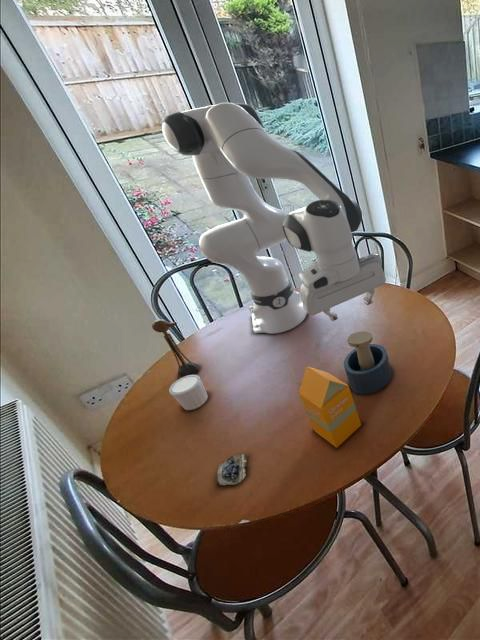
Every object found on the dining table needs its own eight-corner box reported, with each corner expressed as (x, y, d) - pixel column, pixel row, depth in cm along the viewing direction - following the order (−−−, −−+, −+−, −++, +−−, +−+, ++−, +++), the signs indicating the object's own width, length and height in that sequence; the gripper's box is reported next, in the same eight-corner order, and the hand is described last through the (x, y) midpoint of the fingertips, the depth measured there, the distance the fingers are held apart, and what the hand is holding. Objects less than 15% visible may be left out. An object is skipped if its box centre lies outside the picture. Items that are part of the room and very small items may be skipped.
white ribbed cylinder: (216, 395, 112) (206, 377, 108) (192, 415, 106) (180, 397, 103) (198, 388, 114) (188, 371, 110) (174, 408, 108) (162, 390, 105)
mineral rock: (243, 450, 97) (240, 445, 96) (257, 470, 93) (254, 465, 92) (212, 471, 93) (208, 466, 92) (224, 493, 88) (221, 488, 87)
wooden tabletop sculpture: (205, 364, 122) (175, 313, 112) (199, 375, 118) (168, 323, 108) (183, 368, 121) (151, 316, 110) (176, 379, 117) (142, 327, 106)
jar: (343, 377, 116) (336, 357, 112) (379, 357, 123) (375, 338, 119) (361, 401, 109) (354, 381, 105) (398, 378, 116) (394, 358, 112)
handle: (379, 382, 114) (369, 343, 106) (357, 383, 114) (345, 344, 106) (383, 369, 118) (373, 330, 110) (361, 370, 118) (350, 332, 110)
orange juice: (336, 448, 97) (314, 392, 87) (314, 431, 101) (290, 376, 91) (362, 424, 103) (344, 369, 93) (340, 409, 107) (320, 355, 97)
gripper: (373, 246, 104) (382, 289, 112) (291, 277, 92) (307, 322, 100) (385, 255, 100) (394, 299, 108) (301, 288, 88) (317, 335, 96)
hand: (351, 311), depth 103 cm, fingers open, 8 cm apart
